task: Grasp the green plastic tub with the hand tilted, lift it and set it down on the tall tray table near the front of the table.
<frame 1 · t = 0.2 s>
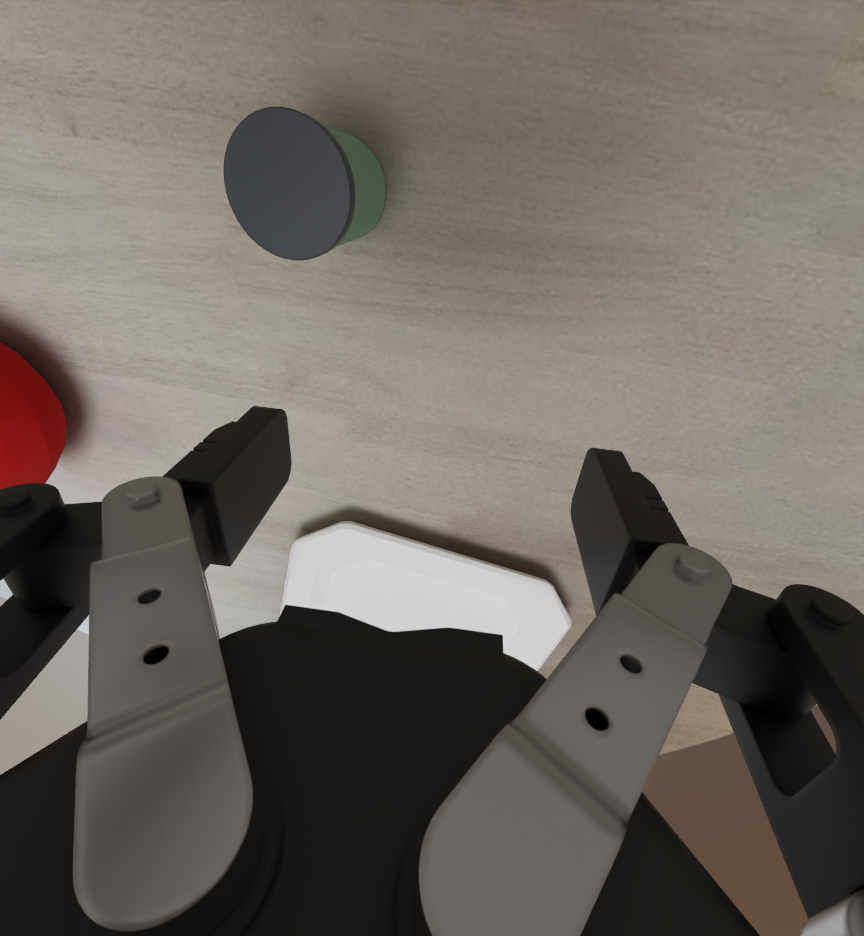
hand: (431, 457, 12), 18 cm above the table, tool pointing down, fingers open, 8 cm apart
tomato: (24, 389, 34), on the table
plastic tub: (341, 189, 25), on the table
plate: (412, 625, 44), on the table
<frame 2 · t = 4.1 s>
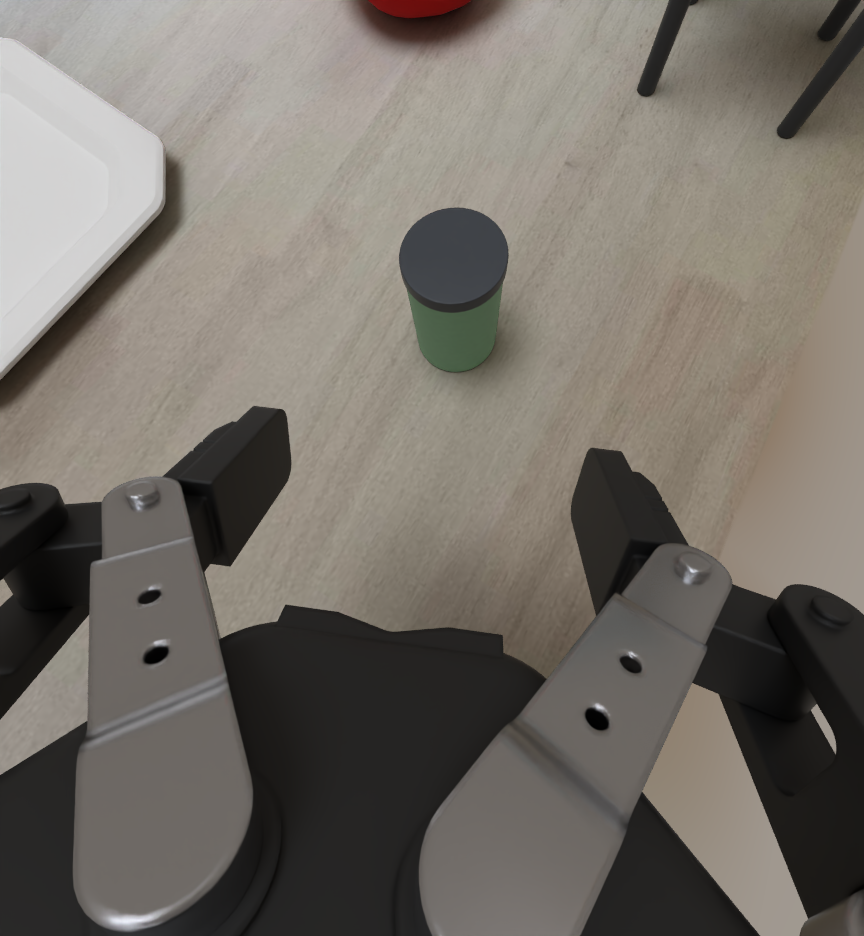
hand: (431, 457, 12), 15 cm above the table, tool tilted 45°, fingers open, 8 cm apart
tray table: (735, 61, 32), on the table
plastic tub: (456, 336, 29), on the table
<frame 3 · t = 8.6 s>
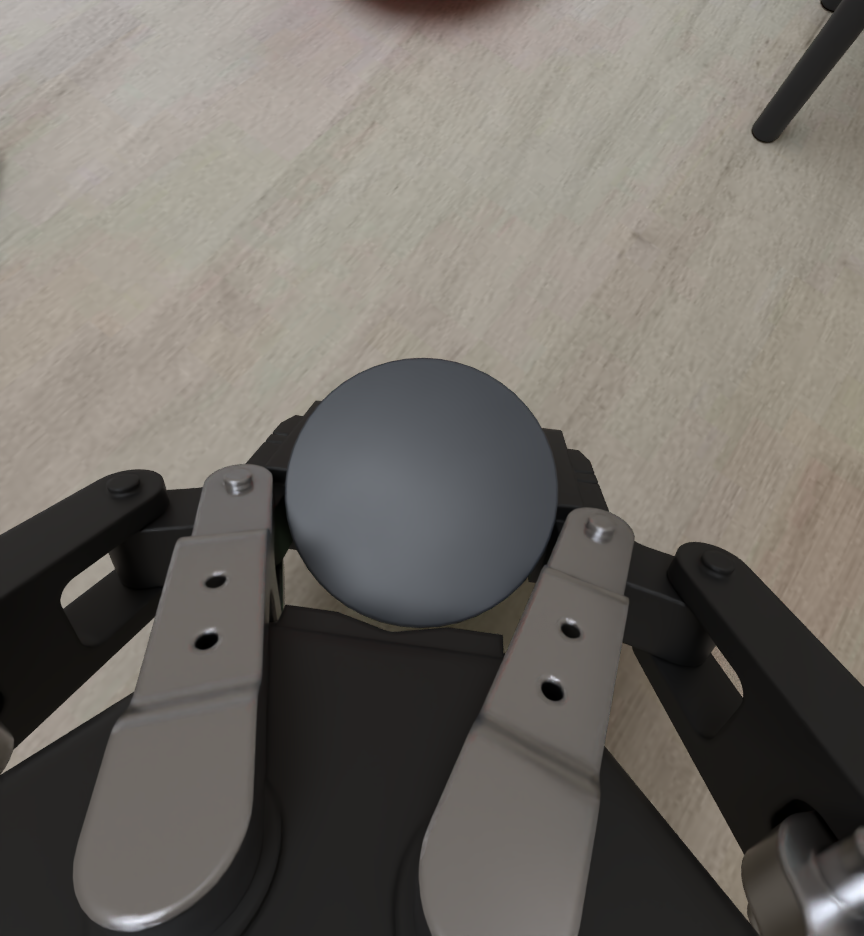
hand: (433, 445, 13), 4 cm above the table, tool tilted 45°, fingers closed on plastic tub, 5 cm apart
plastic tub: (427, 523, 16), on the table, touching gripper
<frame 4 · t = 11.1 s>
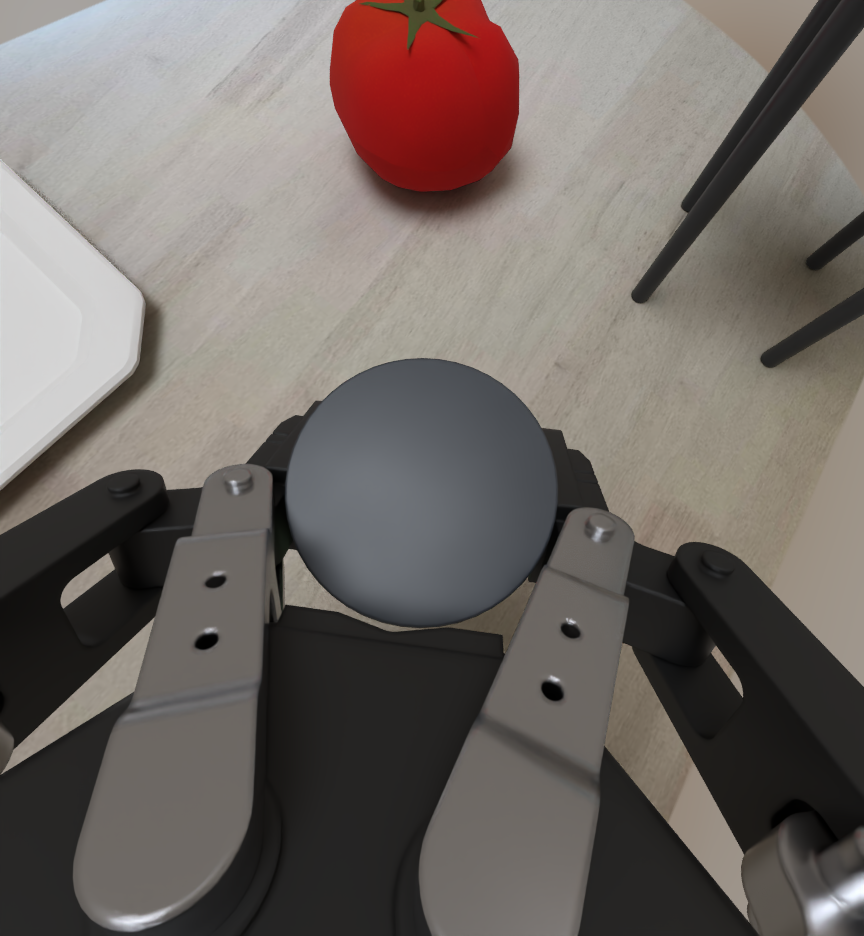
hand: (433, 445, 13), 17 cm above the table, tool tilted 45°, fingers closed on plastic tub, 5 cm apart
tomato: (427, 163, 35), on the table
tray table: (727, 279, 32), on the table
plastic tub: (427, 523, 16), point 12 cm above the table, touching gripper
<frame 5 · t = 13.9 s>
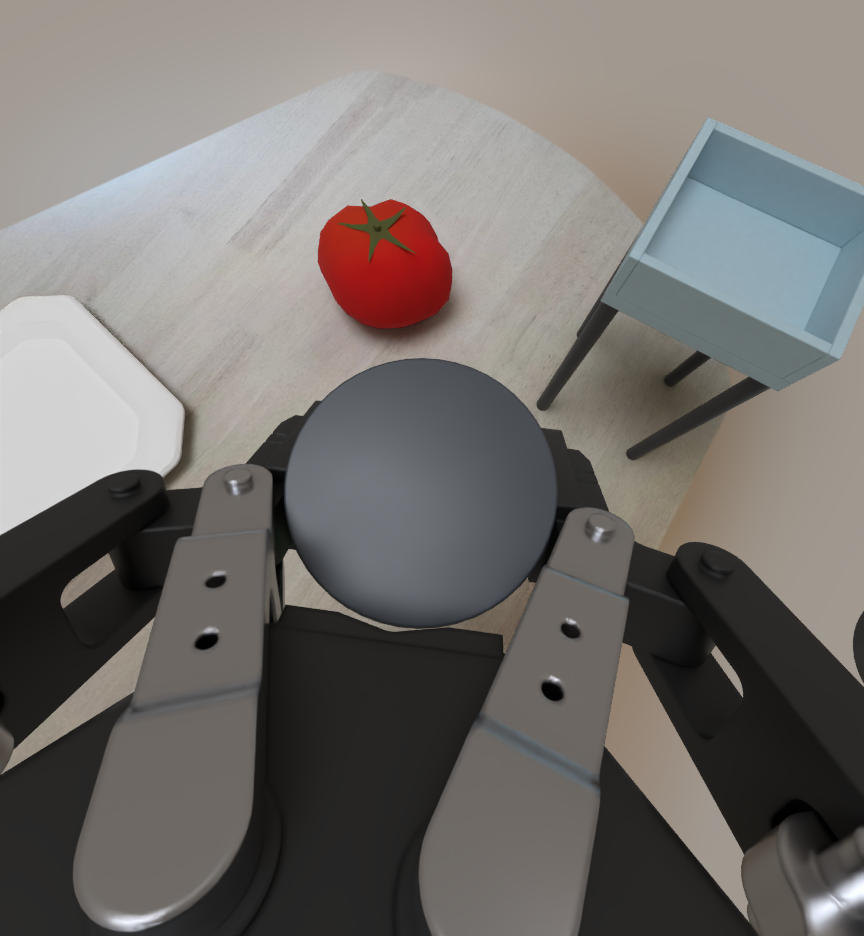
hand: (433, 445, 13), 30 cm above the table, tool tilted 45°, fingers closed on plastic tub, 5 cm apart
tomato: (391, 299, 47), on the table
tray table: (606, 392, 44), on the table
plastic tub: (427, 524, 16), point 25 cm above the table, touching gripper
plate: (40, 444, 43), on the table
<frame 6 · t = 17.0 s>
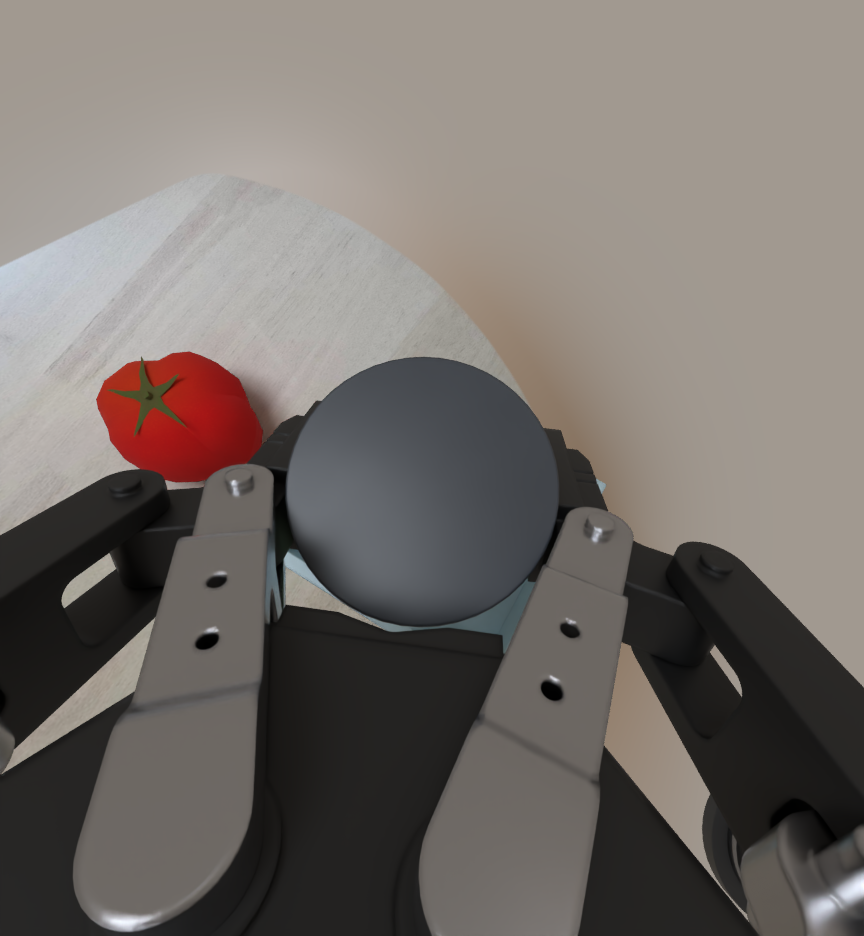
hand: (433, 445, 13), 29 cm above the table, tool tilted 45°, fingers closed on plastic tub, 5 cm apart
tomato: (215, 435, 44), on the table
tray table: (437, 543, 41), on the table
plastic tub: (427, 523, 16), point 25 cm above the table, touching gripper
when the fingers open (23 cm above the table, at t = 19.3 s): plastic tub stays where it is, resting on tray table.
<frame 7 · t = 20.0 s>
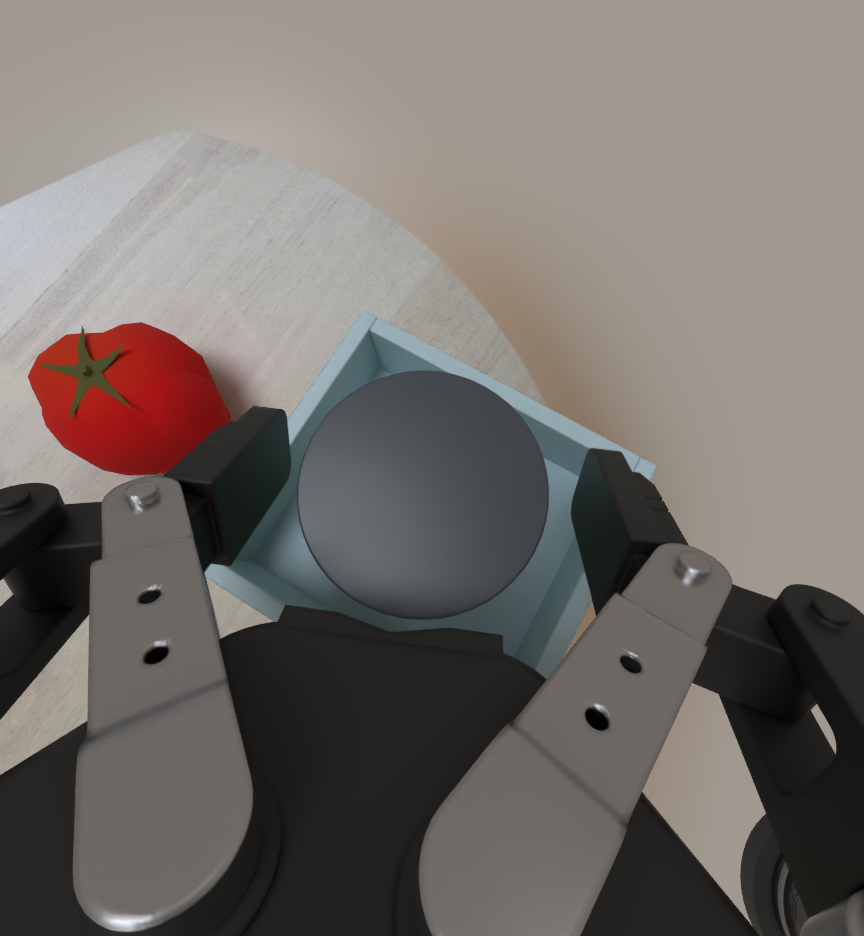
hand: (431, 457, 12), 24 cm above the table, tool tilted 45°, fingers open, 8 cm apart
tomato: (179, 422, 38), on the table
tray table: (432, 546, 35), on the table
plastic tub: (429, 523, 17), point 19 cm above the table, touching tray table
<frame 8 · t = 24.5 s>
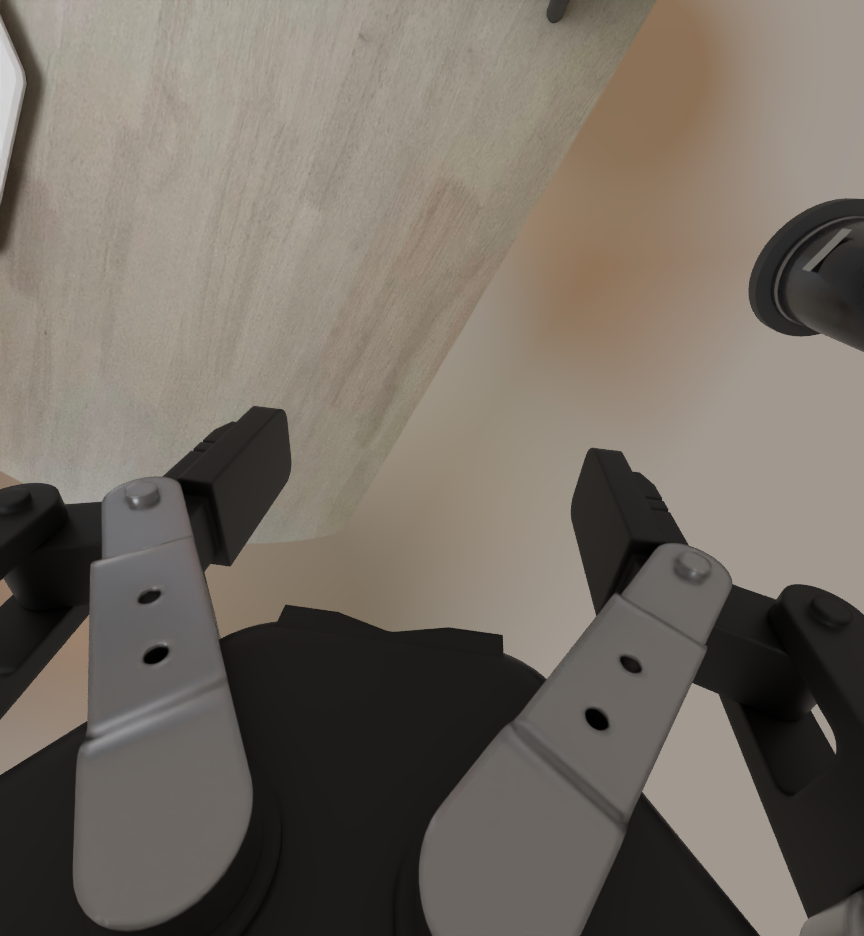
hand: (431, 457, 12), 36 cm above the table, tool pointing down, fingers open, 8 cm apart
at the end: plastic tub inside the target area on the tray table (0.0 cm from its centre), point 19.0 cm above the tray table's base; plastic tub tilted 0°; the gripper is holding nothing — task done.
